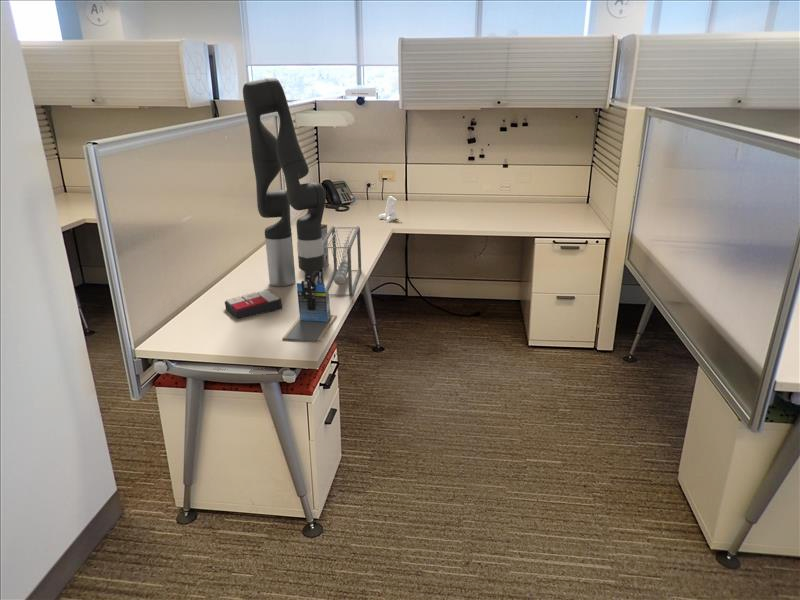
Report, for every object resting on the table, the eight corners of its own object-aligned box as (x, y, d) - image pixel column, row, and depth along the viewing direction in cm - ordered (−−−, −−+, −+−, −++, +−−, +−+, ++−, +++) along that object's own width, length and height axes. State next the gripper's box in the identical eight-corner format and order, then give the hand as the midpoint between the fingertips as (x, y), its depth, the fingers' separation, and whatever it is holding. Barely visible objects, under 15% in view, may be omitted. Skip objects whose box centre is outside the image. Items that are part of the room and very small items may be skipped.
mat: (302, 315, 179) (302, 313, 179) (336, 317, 178) (336, 315, 178) (282, 340, 163) (282, 337, 163) (319, 342, 161) (319, 340, 161)
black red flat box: (223, 299, 184) (267, 287, 192) (226, 311, 186) (269, 299, 193) (235, 309, 175) (281, 297, 183) (237, 322, 177) (282, 309, 185)
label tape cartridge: (331, 317, 176) (328, 279, 171) (327, 322, 173) (325, 284, 168) (303, 315, 177) (300, 278, 172) (299, 321, 174) (295, 283, 169)
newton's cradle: (334, 270, 220) (331, 224, 214) (361, 270, 220) (359, 224, 213) (321, 298, 192) (318, 247, 186) (352, 299, 192) (350, 248, 185)
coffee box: (301, 266, 225) (298, 226, 219) (309, 261, 230) (306, 222, 224) (322, 268, 222) (319, 227, 216) (329, 263, 227) (327, 223, 221)
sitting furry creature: (377, 218, 295) (376, 195, 291) (391, 216, 300) (390, 193, 296) (388, 222, 288) (387, 198, 284) (401, 219, 293) (401, 196, 288)
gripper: (305, 245, 174) (309, 297, 180) (290, 259, 161) (294, 314, 167) (329, 245, 173) (332, 298, 179) (316, 260, 160) (319, 316, 166)
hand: (314, 306), depth 173 cm, fingers open, 5 cm apart
